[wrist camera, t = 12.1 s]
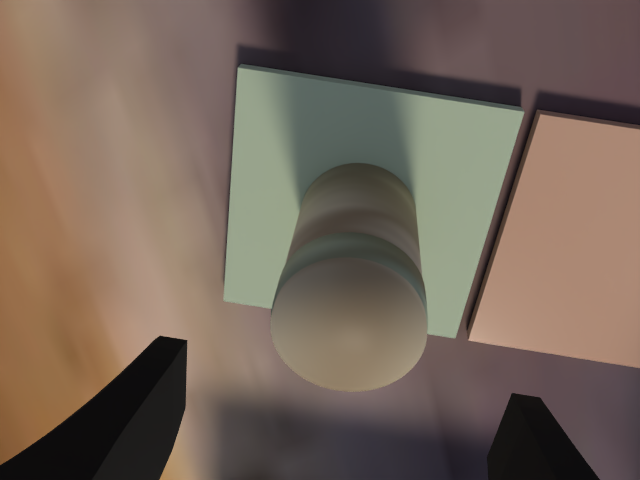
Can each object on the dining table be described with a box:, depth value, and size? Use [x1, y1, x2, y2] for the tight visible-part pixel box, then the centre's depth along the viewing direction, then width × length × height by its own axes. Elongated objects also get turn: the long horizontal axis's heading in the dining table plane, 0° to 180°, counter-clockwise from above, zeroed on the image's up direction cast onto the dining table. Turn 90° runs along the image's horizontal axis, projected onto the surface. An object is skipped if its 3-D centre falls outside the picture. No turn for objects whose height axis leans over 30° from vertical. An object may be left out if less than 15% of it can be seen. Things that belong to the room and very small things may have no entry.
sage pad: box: [224, 64, 524, 338], centre depth 21 cm, size 9×9×1 cm
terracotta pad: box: [467, 110, 640, 368], centre depth 21 cm, size 9×9×1 cm
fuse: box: [270, 163, 428, 392], centre depth 18 cm, size 4×4×6 cm
